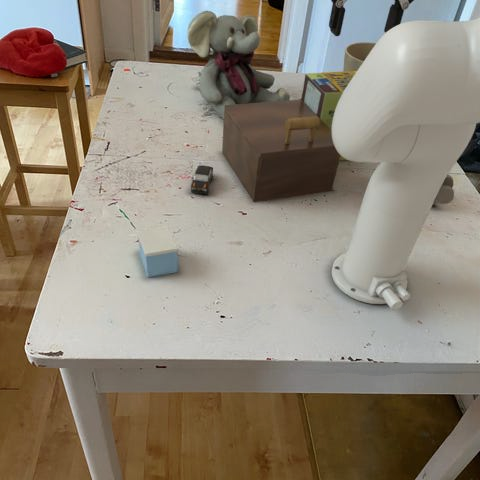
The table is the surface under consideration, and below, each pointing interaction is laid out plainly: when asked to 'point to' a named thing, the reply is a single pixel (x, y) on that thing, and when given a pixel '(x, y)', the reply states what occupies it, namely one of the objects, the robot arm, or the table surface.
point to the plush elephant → (230, 61)
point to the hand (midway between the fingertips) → (362, 34)
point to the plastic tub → (158, 251)
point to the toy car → (202, 179)
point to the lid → (281, 127)
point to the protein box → (325, 93)
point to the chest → (277, 167)
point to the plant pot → (356, 55)
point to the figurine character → (445, 191)
